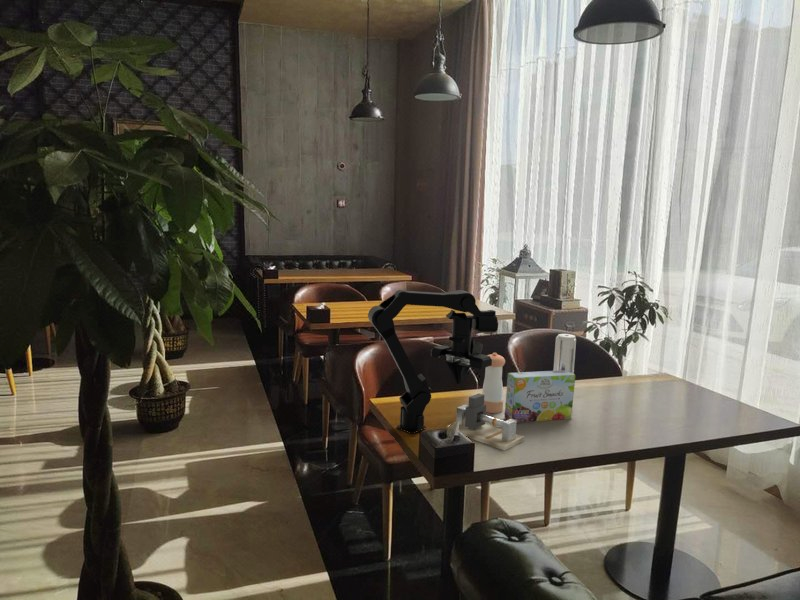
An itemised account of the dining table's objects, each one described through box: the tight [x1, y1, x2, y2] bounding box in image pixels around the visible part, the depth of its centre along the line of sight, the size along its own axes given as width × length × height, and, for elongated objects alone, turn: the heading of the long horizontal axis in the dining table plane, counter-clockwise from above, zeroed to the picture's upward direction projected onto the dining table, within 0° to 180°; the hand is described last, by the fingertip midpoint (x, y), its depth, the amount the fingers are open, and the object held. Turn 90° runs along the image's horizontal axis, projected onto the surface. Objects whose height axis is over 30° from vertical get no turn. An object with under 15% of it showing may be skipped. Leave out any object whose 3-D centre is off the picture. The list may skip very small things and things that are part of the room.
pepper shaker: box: [481, 352, 506, 414], centre depth 184 cm, size 7×7×19 cm
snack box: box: [504, 370, 576, 424], centre depth 178 cm, size 21×6×15 cm, turn 106°
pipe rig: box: [455, 404, 518, 442], centre depth 163 cm, size 18×4×5 cm, turn 47°
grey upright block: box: [465, 393, 487, 429], centre depth 165 cm, size 3×6×9 cm, turn 137°
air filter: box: [552, 333, 577, 374], centre depth 188 cm, size 6×6×25 cm
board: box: [446, 423, 525, 452], centre depth 164 cm, size 20×10×1 cm, turn 47°
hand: (459, 384), depth 169 cm, fingers closed
